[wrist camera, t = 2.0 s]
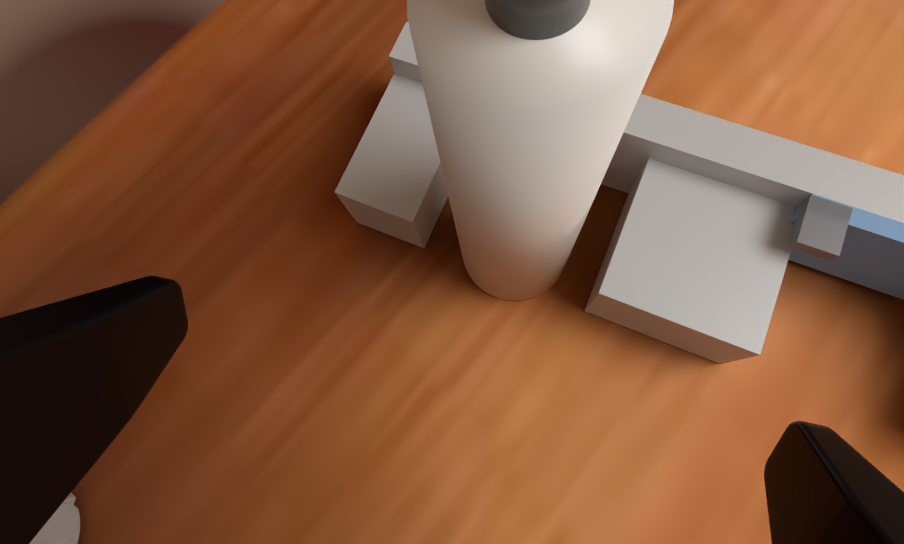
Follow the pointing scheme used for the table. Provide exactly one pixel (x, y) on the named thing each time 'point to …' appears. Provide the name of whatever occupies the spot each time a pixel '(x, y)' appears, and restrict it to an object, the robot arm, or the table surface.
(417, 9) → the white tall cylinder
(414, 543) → the table surface
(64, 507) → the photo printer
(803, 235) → the cable duct
